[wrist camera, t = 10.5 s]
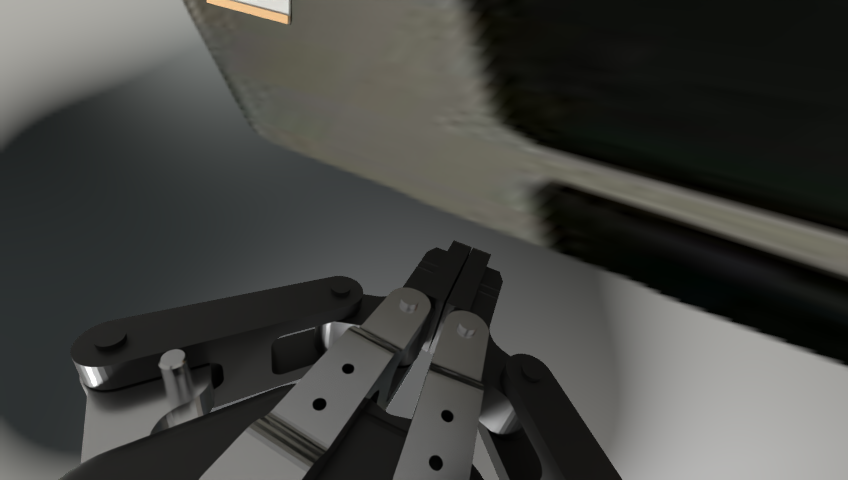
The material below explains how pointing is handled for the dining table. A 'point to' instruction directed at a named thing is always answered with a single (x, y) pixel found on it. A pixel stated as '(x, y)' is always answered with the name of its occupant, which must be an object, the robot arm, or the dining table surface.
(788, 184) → the dining table surface
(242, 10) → the mat
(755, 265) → the dining table surface
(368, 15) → the dining table surface
